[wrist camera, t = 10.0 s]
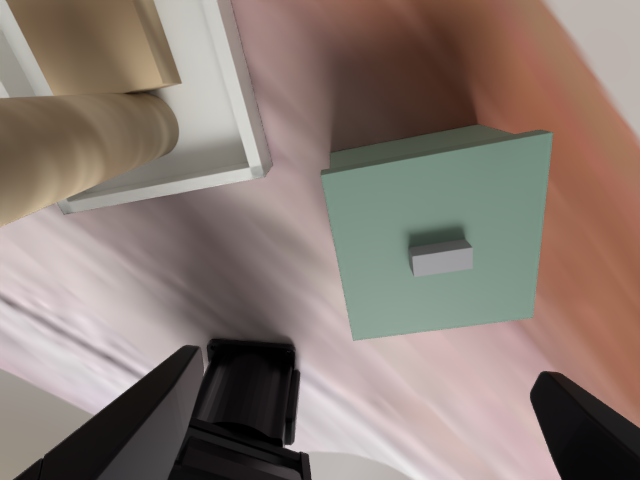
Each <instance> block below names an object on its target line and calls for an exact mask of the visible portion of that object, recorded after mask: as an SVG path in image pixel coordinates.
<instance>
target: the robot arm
mask: <svg viewBox="0 0 640 480" xmlns="http://www.w3.org/2000/svg"><path fill="white" fill-rule="evenodd" d="M213 345H214V346H213ZM215 346H216V347H215ZM287 351H290V352H287ZM207 353H208V362H209V364H208V367H207V369H206V371H205V373H204V366H203V358H202V351H201V348H200V347H199V346H192V345H185V346H183V347H181V348H180V349H179V350H177V351H176V352H175V353H174V354H172V355H171V356H170V357H168V358H167V359H166V360H165V361H163V362H162V363H161V364H160V365H158V366H157V367H156V368H154V369H153V370H152V371H151V372H149V373H148V374H147V375H146V376H144V377H143V378H142V379H140V380H139V381H138V382H137V383H135V384H134V385H133V386H132V387H130V388H129V389H128V390H127V391H125V392H124V393H123V394H121V395H120V396H119V397H118V398H116V399H115V400H114V401H113V402H111V403H110V404H109V405H107V406H106V407H105V408H104V409H102V410H101V411H100V412H99V413H97V414H96V415H95V416H94V417H92V418H91V419H90V420H88V421H87V422H86V423H85V424H83V425H82V426H81V427H80V428H78V429H77V430H76V431H74V432H73V433H72V434H71V435H69V436H68V437H67V438H66V439H64V440H63V441H62V442H60V443H59V444H58V445H57V446H55V447H54V448H53V449H52V450H50V451H49V452H48V453H47V454H45V456H44V458H41V459H39V460H38V461H36V462H35V463H34V464H32V465H31V466H30V467H29V468H27V469H26V470H25V471H24V472H22V473H21V474H20V475H18V476H17V477H16V478H14V479H13V480H312V479H311V471H310V463H309V455H308V454H306V453H303V452H299V453H298V452H295V451H292V450H289V449H286V448H285V445H292V444H293V443H294V440H295V430H296V420H297V410H298V400H299V388H300V371H299V370H297V369H295V354H296V349H295V347H294V346H292V345H289V344H275V343H262V342H248V341H235V340H221V339H212V340H210V341H209V343H208V345H207ZM203 373H204V376H203ZM530 400H531V403H532V406H533V409H534V411H535V414H536V417H537V419H538V422H539V425H540V427H541V430H542V433H543V435H544V438H545V441H546V444H547V446H548V449H549V452H550V454H551V457H552V459H553V462H554V464H555V466H556V468H557V471H558V473H559V475H560V477H561V479H562V480H640V428H639V427H637V426H636V425H635V424H633V423H632V422H630V421H629V420H627V419H626V418H624V417H623V416H622V415H620V414H619V413H617V412H616V411H614V410H613V409H612V408H610V407H609V406H607V405H606V404H604V403H603V402H602V401H600V400H599V399H597V398H596V397H594V396H593V395H591V394H590V393H589V392H587V391H586V390H584V389H583V388H581V387H580V386H579V385H577V384H576V383H574V382H573V381H571V380H570V379H569V378H567V377H566V376H564V375H563V374H561V373H558V372H550V371H543V372H541V373H540V374H539V376H538V378H537V380H536V382H535V384H534V386H533V388H532V390H531V392H530Z"/></svg>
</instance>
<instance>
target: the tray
mask: <svg viewBox="0 0 640 480" xmlns="http://www.w3.org/2000/svg"><path fill="white" fill-rule="evenodd" d="M154 3H155V6H156V9H157V12H158V15H159V18H160V21H161V24H162V26H163V29H164V32H165V35H166V38H167V41H168V44H169V47H170V50H171V53H172V55H173V58H174V61H175V64H176V67H177V70H178V73H179V76H180V79H181V82H182V84H178V85H174V86H170V87H165V88H161V89H157V90H153V91H148V92H147V93H151V94H153V95H156V96H157V97H159V98H160V99H162V100H163V101H164V102H165V103H167V105H168V106H169V107H170V108H171V109H172V111H173V113H174V114H175V116H176V119H177V122H178V126H179V138H178V142H177V144H176V146H175V147H174V149H173V150H172V151H171V152H170V153H168V154H166V155H164V156H162V157H160V158H157V159H155V160H153V161H150V162H148V163H146V164H144V165H141V166H139V167H137V168H134V169H132V170H130V171H128V172H125V173H123V174H121V175H118V176H116V177H114V178H112V179H109V180H107V181H105V182H102V183H100V184H98V185H95V186H93V187H91V188H89V189H86V190H84V191H82V192H79V193H77V194H75V195H73V196H70V197H68V198H66V199H63V200H61V201H59V202H57V204H58V205H59V207H60V209H61V211H62V212H63V214H64V215H65V214H70V213H76V212H81V211H86V210H92V209H97V208H102V207H108V206H113V205H118V204H124V203H129V202H134V201H140V200H145V199H150V198H156V197H161V196H166V195H172V194H177V193H182V192H188V191H193V190H198V189H204V188H209V187H214V186H220V185H225V184H230V183H236V182H241V181H246V180H251V179H257V178H262V177H265V176H266V174H267V173H268V172H269V170H270V169H271V167H272V166H273V165H272V161H271V157H270V153H269V149H268V145H267V141H266V137H265V134H264V130H263V126H262V122H261V118H260V114H259V110H258V106H257V102H256V99H255V95H254V91H253V87H252V83H251V79H250V75H249V71H248V67H247V64H246V60H245V56H244V52H243V48H242V44H241V40H240V36H239V32H238V28H237V25H236V21H235V17H234V13H233V9H232V5H231V1H230V0H154ZM35 96H54V95H53V93H52V91H51V89H50V87H49V85H48V83H47V81H46V79H45V77H44V75H43V73H42V71H41V69H40V67H39V65H38V63H37V61H36V59H35V57H34V55H33V53H32V51H31V49H30V47H29V45H28V43H27V41H26V40H25V38H24V36H23V34H22V32H21V30H20V28H19V26H18V24H17V22H16V20H15V18H14V16H13V14H12V12H11V10H10V8H9V6H8V4H7V2H6V0H0V98H14V97H35Z"/></svg>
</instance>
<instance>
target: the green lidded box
mask: <svg viewBox="0 0 640 480" xmlns="http://www.w3.org/2000/svg"><path fill="white" fill-rule="evenodd" d="M552 138H553V132H549V131H545V130H535V131H530V132H524V133H519V134H512V133H508V132H505V131H501V130H498V129H494V128H490V127H487V126H483V125H480V124H478V125H472V126H467V127H462V128H457V129H452V130H446V131H441V132H436V133H431V134H425V135H420V136H415V137H410V138H405V139H399V140H394V141H389V142H384V143H378V144H373V145H368V146H363V147H358V148H352V149H347V150H342V151H337V152H332V153H330V169H326V170H321V179H322V184H323V189H324V194H325V199H326V204H327V209H328V215H329V220H330V225H331V230H332V235H333V240H334V245H335V250H336V255H337V261H338V266H339V271H340V276H341V281H342V286H343V291H344V296H345V301H346V306H347V312H348V317H349V322H350V327H351V332H352V337H353V341H355V340H363V339H371V338H379V337H387V336H395V335H403V334H410V333H418V332H426V331H434V330H442V329H450V328H458V327H466V326H474V325H482V324H489V323H497V322H505V321H513V320H521V319H529V318H533V311H534V302H535V293H536V284H537V275H538V266H539V257H540V247H541V238H542V229H543V220H544V211H545V202H546V193H547V184H548V174H549V165H550V156H551V147H552Z"/></svg>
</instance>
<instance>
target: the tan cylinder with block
mask: <svg viewBox="0 0 640 480" xmlns="http://www.w3.org/2000/svg"><path fill="white" fill-rule="evenodd" d="M6 2H7V4H8V6H9V8H10V10H11V12H12V14H13V16H14V18H15V20H16V22H17V24H18V26H19V28H20V30H21V32H22V34H23V36H24V38H25V40H26V41H27V43H28V45H29V47H30V49H31V51H32V53H33V55H34V57H35V59H36V61H37V63H38V65H39V67H40V69H41V71H42V73H43V75H44V77H45V79H46V81H47V83H48V85H49V87H50V89H51V91H52V93H53V95H54V96H35V97H14V98H0V227H2V226H4V225H6V224H8V223H11V222H13V221H15V220H18V219H20V218H22V217H24V216H27V215H29V214H31V213H34V212H36V211H38V210H40V209H43V208H45V207H47V206H50V205H52V204H54V203H57V202H59V201H61V200H63V199H66V198H68V197H70V196H73V195H75V194H77V193H79V192H82V191H84V190H86V189H89V188H91V187H93V186H95V185H98V184H100V183H102V182H105V181H107V180H109V179H112V178H114V177H116V176H118V175H121V174H123V173H125V172H128V171H130V170H132V169H134V168H137V167H139V166H141V165H144V164H146V163H148V162H150V161H153V160H155V159H157V158H160V157H162V156H164V155H166V154H168V153H170V152H171V151H172V150H173V149H174V147H175V146H176V144H177V142H178V138H179V126H178V122H177V119H176V116H175V114H174V113H173V111H172V109H171V108H170V107H169V106H168V105H167V103H165V102H164V101H163V100H162V99H160V98H159V97H157V96H156V95H153V94H151V93H147V92H148V91H153V90H157V89H161V88H165V87H170V86H174V85H178V84H182V82H181V79H180V76H179V73H178V70H177V67H176V64H175V61H174V58H173V55H172V53H171V50H170V47H169V44H168V41H167V38H166V35H165V32H164V29H163V26H162V24H161V21H160V18H159V15H158V12H157V9H156V6H155V3H154V0H6Z"/></svg>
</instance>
